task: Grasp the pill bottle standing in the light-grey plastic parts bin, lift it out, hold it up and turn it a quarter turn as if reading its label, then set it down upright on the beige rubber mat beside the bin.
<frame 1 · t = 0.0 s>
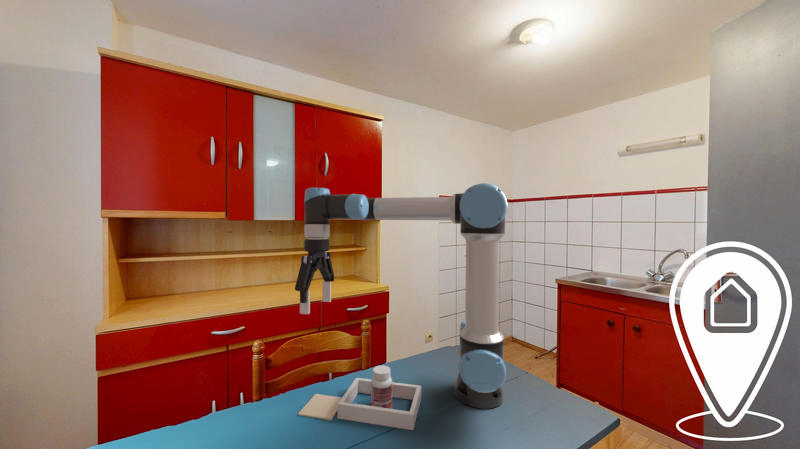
hand: (316, 307, 91), 28 cm above the table, fingers open, 13 cm apart
mat: (322, 406, 87), on the table
bin: (381, 408, 87), on the table
pill bottle: (381, 408, 87), resting in bin
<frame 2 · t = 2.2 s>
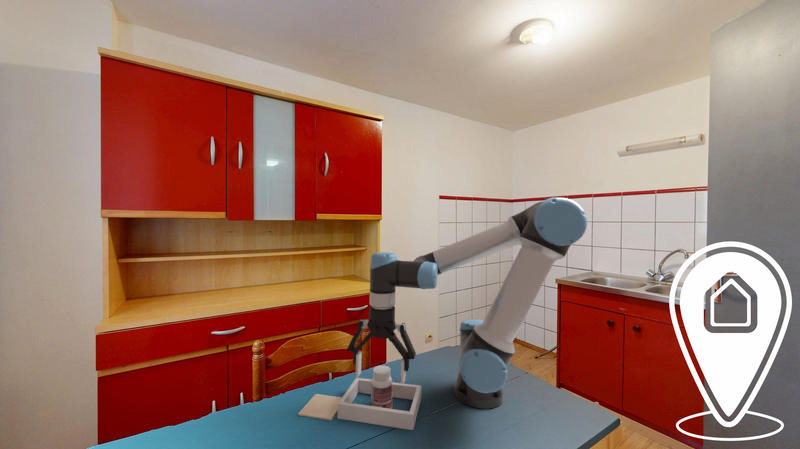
hand: (380, 378, 87), 9 cm above the table, fingers open, 13 cm apart
nothing on the table moved.
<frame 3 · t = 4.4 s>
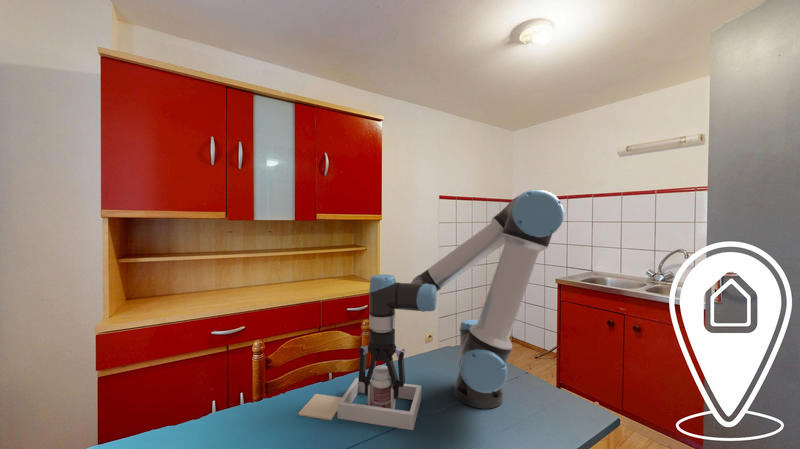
hand: (381, 407, 87), 0 cm above the table, fingers closed on pill bottle, 6 cm apart
pill bottle: (381, 408, 87), resting in bin, touching gripper
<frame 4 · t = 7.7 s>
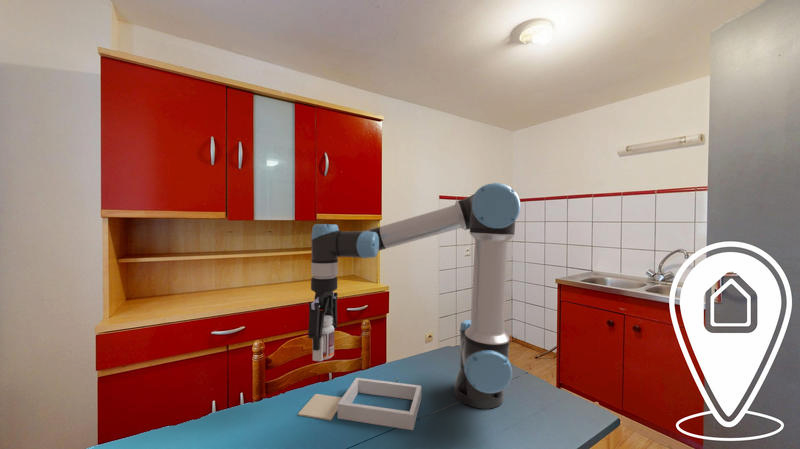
hand: (323, 355, 87), 15 cm above the table, fingers closed on pill bottle, 6 cm apart
pill bottle: (323, 356, 87), point 15 cm above the table, touching gripper
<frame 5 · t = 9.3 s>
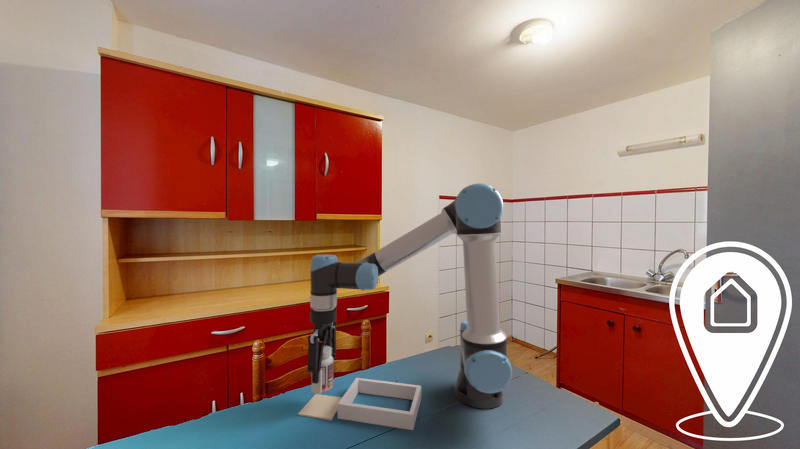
hand: (322, 386, 87), 6 cm above the table, fingers closed on pill bottle, 6 cm apart
pill bottle: (322, 387, 87), point 6 cm above the table, touching gripper
when the fingers open (2 cm above the table, at t = 10.8 s): pill bottle drops 1 cm, resting on mat.
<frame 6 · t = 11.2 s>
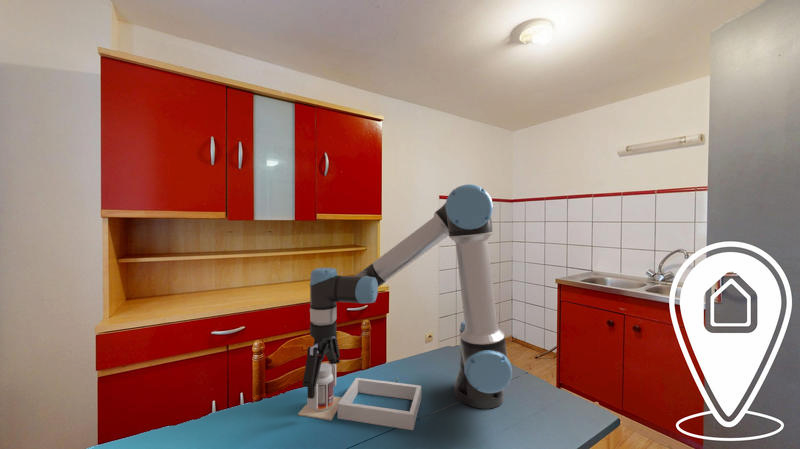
hand: (322, 395, 87), 3 cm above the table, fingers open, 11 cm apart
pill bottle: (322, 406, 87), resting on mat
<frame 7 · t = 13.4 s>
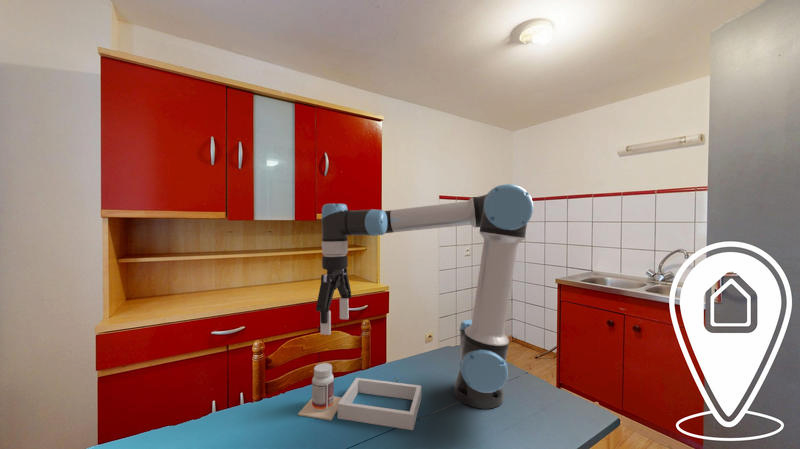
hand: (335, 326, 89), 23 cm above the table, fingers open, 13 cm apart
nothing on the table moved.
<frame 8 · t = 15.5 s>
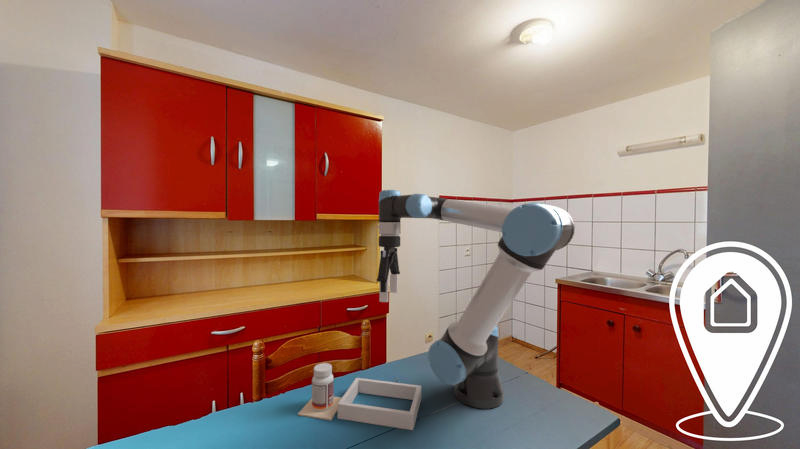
hand: (389, 296, 102), 29 cm above the table, fingers open, 13 cm apart
nothing on the table moved.
at the end: pill bottle inside the target area on the mat (0.0 cm from its centre), point 0.2 cm above the mat's base; pill bottle tilted 0°; the gripper is holding nothing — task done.
